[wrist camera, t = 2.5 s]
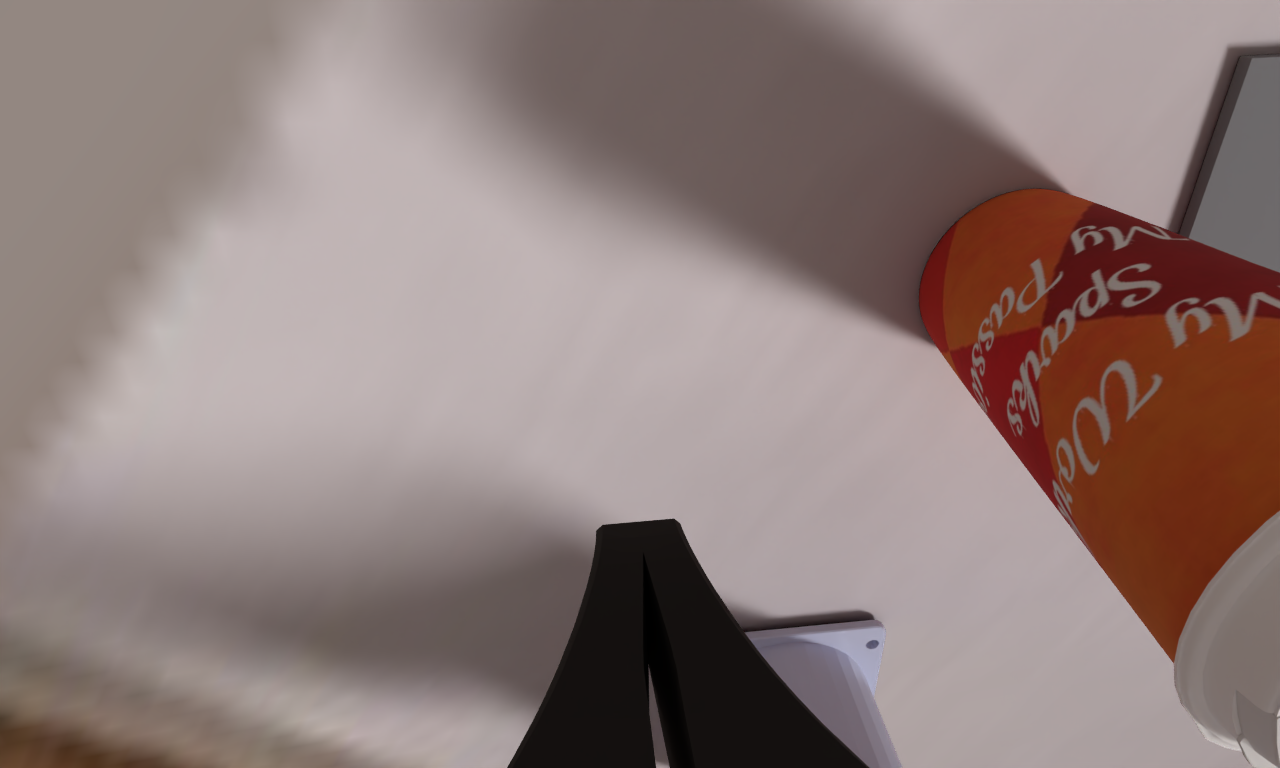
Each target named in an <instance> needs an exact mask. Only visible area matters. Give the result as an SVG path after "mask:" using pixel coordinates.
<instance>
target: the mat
mask: <svg viewBox="0 0 1280 768" xmlns="http://www.w3.org/2000/svg"><path fill="white" fill-rule="evenodd" d="M1179 235H1182V236H1184V237H1187V238H1190V239H1192V240H1195V241H1197V242H1200V243H1203V244H1205V245H1208V246H1210V247H1213V248H1216V249H1218V250H1221V251H1223V252H1226V253H1229V254H1231V255H1234V256H1236V257H1239V258H1242V259H1244V260H1247V261H1249V262H1252V263H1255V264H1257V265H1260V266H1263V267H1266V268H1269V269H1271V270H1274V271H1277V272H1280V54H1271V55H1253V56H1240V58H1239V61H1238V64H1237V67H1236V70H1235V73H1234V76H1233V78H1232V81H1231V84H1230V87H1229V90H1228V93H1227V96H1226V99H1225V102H1224V105H1223V107H1222V110H1221V113H1220V116H1219V119H1218V122H1217V125H1216V128H1215V131H1214V134H1213V136H1212V139H1211V142H1210V145H1209V148H1208V151H1207V154H1206V157H1205V160H1204V163H1203V165H1202V168H1201V171H1200V174H1199V177H1198V180H1197V183H1196V186H1195V189H1194V192H1193V194H1192V197H1191V200H1190V203H1189V206H1188V209H1187V212H1186V215H1185V218H1184V221H1183V224H1182V226H1181V229H1180V232H1179Z"/></svg>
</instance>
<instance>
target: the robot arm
mask: <svg viewBox="0 0 1280 768" xmlns="http://www.w3.org/2000/svg"><path fill="white" fill-rule="evenodd" d="M885 637H886V630H885V628H884V626H883V624H882V623H881V622H880V621H878V620H866V621H855V622H845V623H835V624H824V625H814V626H804V627H794V628H783V629H773V630H763V631H752V632H744V631H743V630H742V628H741V627H740V626H739V624H738V623H737V621H736V620H735V619H734V617H733V616H732V614H731V613H730V611H729V610H728V608H727V607H726V605H725V604H724V602H723V601H722V599H721V598H720V596H719V595H718V593H717V592H716V590H715V589H714V587H713V586H712V584H711V582H710V581H709V579H708V578H707V576H706V574H705V572H704V571H703V569H702V567H701V565H700V564H699V562H698V560H697V558H696V557H695V555H694V553H693V551H692V549H691V547H690V545H689V543H688V541H687V539H686V536H685V534H684V532H683V530H682V527H681V524H680V523H679V522H678V521H676V520H675V519H664V520H653V521H642V522H630V523H619V524H608V525H602V526H601V527H600V528H599V529H598V530H597V531H596V545H595V552H594V558H593V563H592V568H591V572H590V576H589V580H588V584H587V588H586V591H585V594H584V597H583V601H582V604H581V607H580V610H579V613H578V617H577V620H576V623H575V625H574V628H573V631H572V634H571V636H570V639H569V641H568V644H567V646H566V649H565V651H564V654H563V656H562V659H561V662H560V664H559V667H558V669H557V671H556V674H555V676H554V678H553V680H552V683H551V685H550V687H549V689H548V691H547V693H546V696H545V698H544V700H543V702H542V704H541V706H540V708H539V710H538V712H537V714H536V716H535V718H534V720H533V722H532V724H531V726H530V727H529V729H528V731H527V733H526V735H525V737H524V738H523V740H522V742H521V744H520V746H519V748H518V749H517V751H516V753H515V755H514V757H513V759H512V760H511V762H510V764H509V765H508V767H507V768H656V764H655V756H654V748H653V740H652V732H651V724H650V716H649V669H650V673H651V678H652V683H653V688H654V693H655V698H656V703H657V707H658V712H659V717H660V722H661V727H662V731H663V736H664V741H665V746H666V751H667V755H668V760H669V765H670V768H902V765H901V763H900V760H899V758H898V756H897V753H896V751H895V748H894V746H893V743H892V741H891V738H890V736H889V734H888V731H887V729H886V726H885V724H884V721H883V719H882V717H881V714H880V712H879V709H878V707H877V704H876V702H875V699H874V694H875V689H876V684H877V679H878V673H879V668H880V663H881V658H882V652H883V647H884V642H885ZM648 664H649V666H648Z"/></svg>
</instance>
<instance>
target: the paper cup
mask: <svg viewBox="0 0 1280 768" xmlns="http://www.w3.org/2000/svg"><path fill="white" fill-rule="evenodd" d="M919 307H920V313H921V317H922V320H923V323H924V325H925V327H926V329H927V331H928V333H929V335H930V337H931V338H932V340H933V341H934V343H935V345H936V346H937V348H938V349H939V350H940V352H941V353H942V355H943V356H944V358H945V359H946V360H947V362H948V363H949V365H950V366H951V368H952V369H953V370H954V372H955V373H956V374H957V376H958V377H959V378H960V380H961V381H962V383H963V384H964V385H965V387H966V388H967V389H968V391H969V392H970V393H971V395H972V396H973V397H974V399H975V400H976V401H977V403H978V404H979V406H980V407H981V408H982V410H983V411H984V412H985V414H986V415H987V416H988V418H989V419H990V420H991V422H992V423H993V424H994V426H995V427H996V428H997V430H998V431H999V432H1000V434H1001V435H1002V436H1003V438H1004V439H1005V440H1006V442H1007V443H1008V444H1009V446H1010V447H1011V448H1012V450H1013V451H1014V452H1015V454H1016V455H1017V456H1018V458H1019V459H1020V460H1021V462H1022V463H1023V464H1024V466H1025V467H1026V468H1027V470H1028V471H1029V472H1030V474H1031V475H1032V476H1033V478H1034V479H1035V480H1036V482H1037V483H1038V484H1039V486H1040V487H1041V488H1042V489H1043V491H1044V492H1045V493H1046V495H1047V496H1048V497H1049V499H1050V500H1051V501H1052V503H1053V504H1054V505H1055V507H1056V508H1057V509H1058V511H1059V512H1060V513H1061V515H1062V516H1063V517H1064V519H1065V520H1066V521H1067V523H1068V524H1069V525H1070V527H1071V528H1072V529H1073V530H1074V532H1075V533H1076V534H1077V536H1078V537H1079V538H1080V540H1081V541H1082V542H1083V544H1084V545H1085V546H1086V548H1087V549H1088V550H1089V552H1090V553H1091V554H1092V556H1093V557H1094V558H1095V560H1096V561H1097V562H1098V564H1099V565H1100V566H1101V568H1102V569H1103V570H1104V571H1105V573H1106V574H1107V575H1108V577H1109V578H1110V579H1111V581H1112V582H1113V583H1114V585H1115V586H1116V587H1117V589H1118V590H1119V591H1120V593H1121V594H1122V595H1123V597H1124V598H1125V599H1126V601H1127V602H1128V603H1129V605H1130V606H1131V607H1132V609H1133V610H1134V611H1135V613H1136V614H1137V615H1138V617H1139V618H1140V619H1141V621H1142V622H1143V623H1144V625H1145V626H1146V627H1147V628H1148V630H1149V631H1150V632H1151V634H1152V635H1153V636H1154V638H1155V639H1156V640H1157V642H1158V643H1159V644H1160V646H1161V647H1162V648H1163V650H1164V651H1165V652H1166V654H1167V655H1168V656H1169V658H1170V659H1171V660H1172V662H1173V663H1174V680H1175V687H1176V690H1177V693H1178V696H1179V699H1180V702H1181V704H1182V705H1183V707H1184V708H1185V709H1186V711H1187V712H1188V713H1189V715H1190V716H1191V717H1192V719H1193V720H1194V722H1195V723H1196V725H1197V727H1198V728H1199V730H1200V732H1201V733H1202V735H1203V736H1204V738H1205V739H1206V740H1208V741H1211V742H1213V743H1216V744H1218V745H1220V746H1223V747H1225V748H1228V749H1233V750H1237V751H1242V753H1243V755H1244V757H1245V758H1246V759H1247V761H1248V762H1249V763H1250V764H1251V765H1252V766H1253V767H1255V768H1280V272H1277V271H1274V270H1271V269H1269V268H1266V267H1263V266H1260V265H1257V264H1255V263H1252V262H1249V261H1247V260H1244V259H1242V258H1239V257H1236V256H1234V255H1231V254H1229V253H1226V252H1223V251H1221V250H1218V249H1216V248H1213V247H1210V246H1208V245H1205V244H1203V243H1200V242H1197V241H1195V240H1192V239H1190V238H1187V237H1184V236H1182V235H1179V234H1177V233H1174V232H1171V231H1169V230H1166V229H1164V228H1161V227H1158V226H1156V225H1153V224H1150V223H1148V222H1145V221H1142V220H1140V219H1137V218H1134V217H1132V216H1129V215H1126V214H1124V213H1121V212H1118V211H1116V210H1113V209H1110V208H1108V207H1105V206H1102V205H1099V204H1096V203H1094V202H1091V201H1088V200H1085V199H1082V198H1079V197H1076V196H1073V195H1069V194H1066V193H1062V192H1059V191H1054V190H1048V189H1023V190H1017V191H1012V192H1008V193H1005V194H1002V195H999V196H997V197H994V198H992V199H990V200H988V201H986V202H984V203H982V204H980V205H979V206H977V207H975V208H974V209H972V210H971V211H969V212H968V213H967V214H965V215H964V216H963V217H962V218H960V219H959V220H958V221H957V222H956V223H955V224H954V225H953V226H952V227H951V228H950V229H949V230H948V231H947V232H946V233H945V235H944V236H943V237H942V238H941V240H940V241H939V242H938V244H937V245H936V247H935V248H934V250H933V252H932V253H931V255H930V257H929V259H928V261H927V264H926V266H925V269H924V272H923V275H922V278H921V283H920V289H919Z"/></svg>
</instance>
